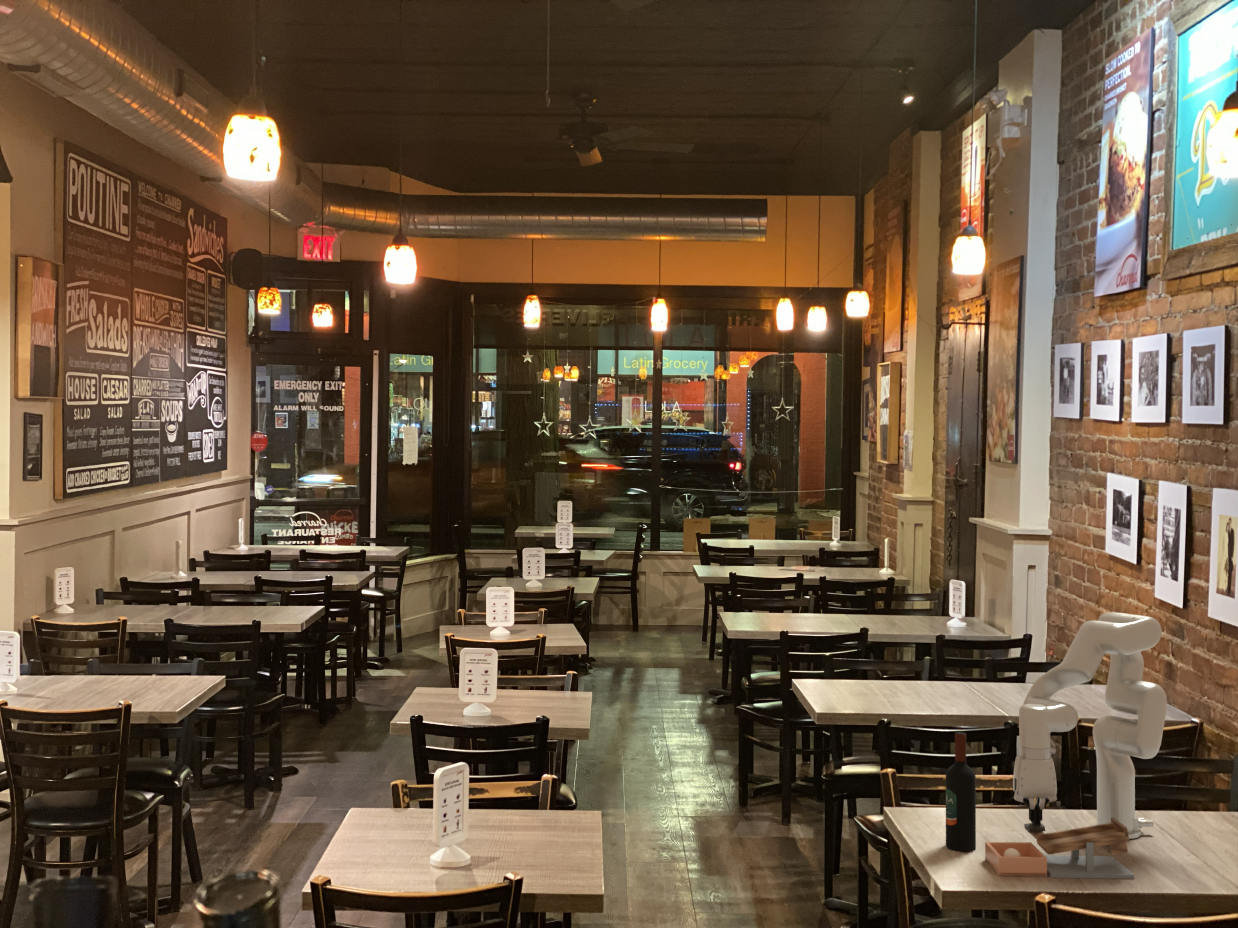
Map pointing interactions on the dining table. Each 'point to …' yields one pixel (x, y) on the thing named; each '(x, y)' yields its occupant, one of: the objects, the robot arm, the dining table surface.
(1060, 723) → the robot arm
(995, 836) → the dining table surface
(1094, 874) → the stand
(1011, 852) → the ball
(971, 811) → the wine bottle
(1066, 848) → the lever
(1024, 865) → the pink hollow square tray
